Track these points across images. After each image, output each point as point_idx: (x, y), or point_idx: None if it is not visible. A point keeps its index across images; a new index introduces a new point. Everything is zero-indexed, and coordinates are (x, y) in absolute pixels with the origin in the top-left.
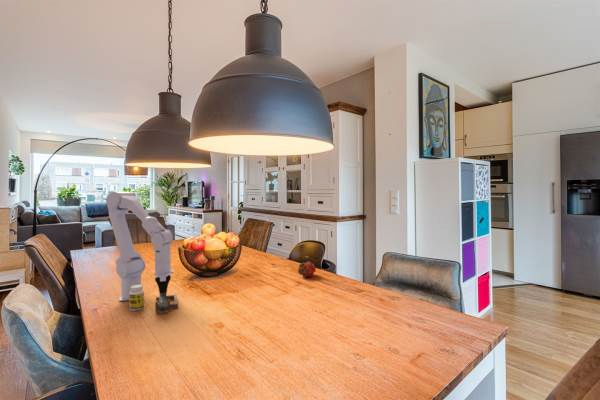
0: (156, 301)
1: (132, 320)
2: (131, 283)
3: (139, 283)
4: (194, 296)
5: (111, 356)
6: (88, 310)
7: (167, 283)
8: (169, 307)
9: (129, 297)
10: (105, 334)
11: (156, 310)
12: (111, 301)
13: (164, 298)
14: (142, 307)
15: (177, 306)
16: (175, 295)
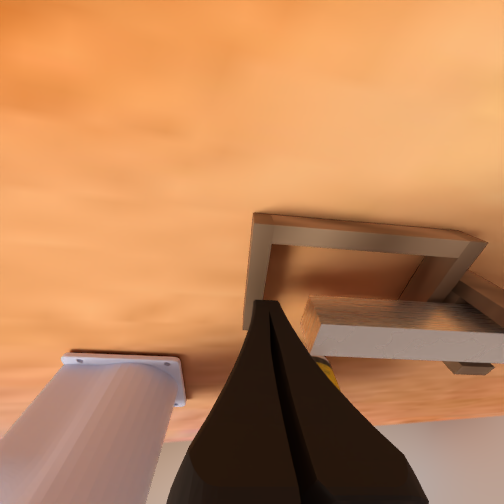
0: (471, 371)
1: (419, 372)
2: (146, 487)
3: (115, 454)
4: (285, 33)
5: None
6: None
7: (339, 400)
8: (494, 288)
9: None
10: (458, 406)
11: None
12: (172, 411)
13: (464, 341)
14: (324, 358)
15: (468, 236)
16: (279, 233)
